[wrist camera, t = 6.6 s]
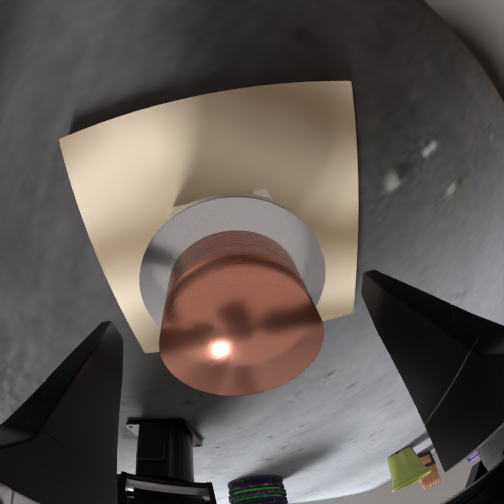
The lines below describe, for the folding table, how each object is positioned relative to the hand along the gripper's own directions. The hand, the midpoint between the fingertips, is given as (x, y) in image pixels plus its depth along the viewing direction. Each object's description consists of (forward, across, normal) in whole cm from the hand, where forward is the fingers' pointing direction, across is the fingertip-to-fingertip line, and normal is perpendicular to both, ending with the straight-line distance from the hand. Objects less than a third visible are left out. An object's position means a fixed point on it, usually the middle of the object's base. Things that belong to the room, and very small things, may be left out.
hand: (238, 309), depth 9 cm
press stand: (+6, 0, 0) cm, 7 cm away
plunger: (+5, 0, 0) cm, 5 cm away
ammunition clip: (+7, -38, +76) cm, 85 cm away
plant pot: (+7, -26, +59) cm, 65 cm away
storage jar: (+7, +5, +47) cm, 48 cm away
